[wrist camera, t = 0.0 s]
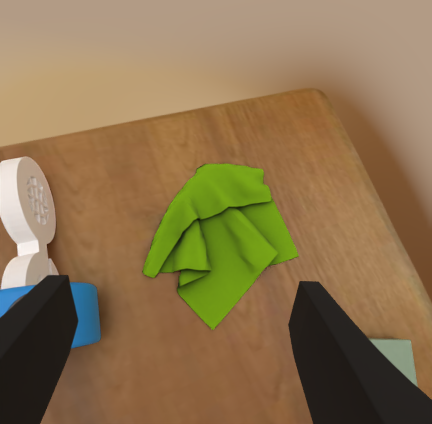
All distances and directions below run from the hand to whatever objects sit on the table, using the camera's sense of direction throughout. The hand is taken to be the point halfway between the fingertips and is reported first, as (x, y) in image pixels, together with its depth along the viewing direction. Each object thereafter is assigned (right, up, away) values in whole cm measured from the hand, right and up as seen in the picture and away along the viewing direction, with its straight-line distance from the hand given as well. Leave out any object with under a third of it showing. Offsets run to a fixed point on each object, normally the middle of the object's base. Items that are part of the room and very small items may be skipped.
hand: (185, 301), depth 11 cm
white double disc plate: (-20, -3, +32) cm, 38 cm away
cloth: (+1, -1, +34) cm, 34 cm away
